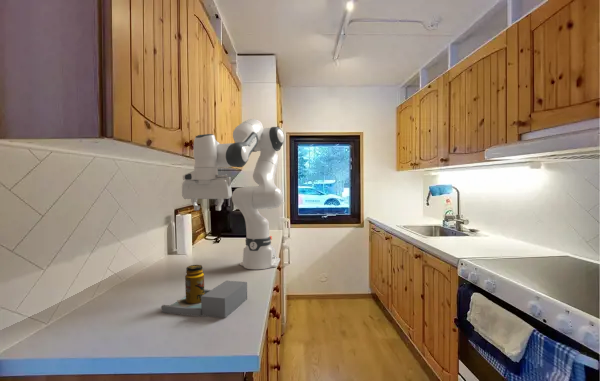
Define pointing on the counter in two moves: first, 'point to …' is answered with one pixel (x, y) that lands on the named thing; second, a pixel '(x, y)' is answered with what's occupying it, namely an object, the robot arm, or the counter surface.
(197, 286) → the condiment
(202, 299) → the teal-floored tray
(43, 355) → the counter surface
